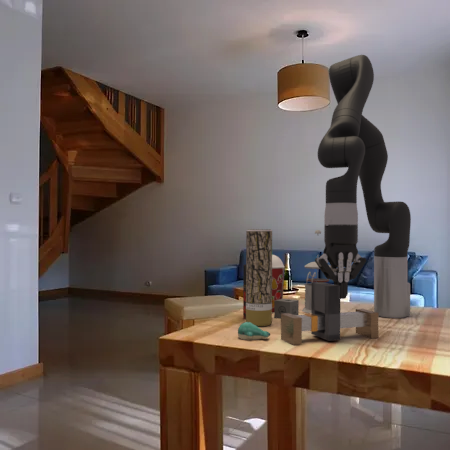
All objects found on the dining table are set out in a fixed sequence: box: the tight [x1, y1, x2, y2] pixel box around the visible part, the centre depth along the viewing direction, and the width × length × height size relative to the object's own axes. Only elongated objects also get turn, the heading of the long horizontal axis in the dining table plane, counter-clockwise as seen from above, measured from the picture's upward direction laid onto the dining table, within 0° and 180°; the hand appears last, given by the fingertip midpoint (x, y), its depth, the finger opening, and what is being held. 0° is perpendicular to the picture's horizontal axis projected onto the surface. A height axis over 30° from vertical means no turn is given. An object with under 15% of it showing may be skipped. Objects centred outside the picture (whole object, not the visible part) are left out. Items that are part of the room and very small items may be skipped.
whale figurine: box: [237, 321, 271, 341], centre depth 108 cm, size 6×7×4 cm
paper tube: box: [245, 228, 273, 327], centre depth 125 cm, size 7×7×25 cm
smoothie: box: [272, 254, 286, 313], centre depth 146 cm, size 8×8×20 cm
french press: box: [301, 229, 331, 314], centre depth 145 cm, size 10×12×25 cm
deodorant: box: [242, 263, 246, 321], centre depth 133 cm, size 6×6×15 cm
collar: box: [310, 282, 341, 342], centre depth 108 cm, size 3×7×12 cm, turn 20°
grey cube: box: [273, 298, 300, 320], centre depth 135 cm, size 5×5×5 cm
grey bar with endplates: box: [280, 308, 379, 346], centre depth 109 cm, size 22×6×6 cm, turn 110°
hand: (340, 298), depth 110 cm, fingers closed
